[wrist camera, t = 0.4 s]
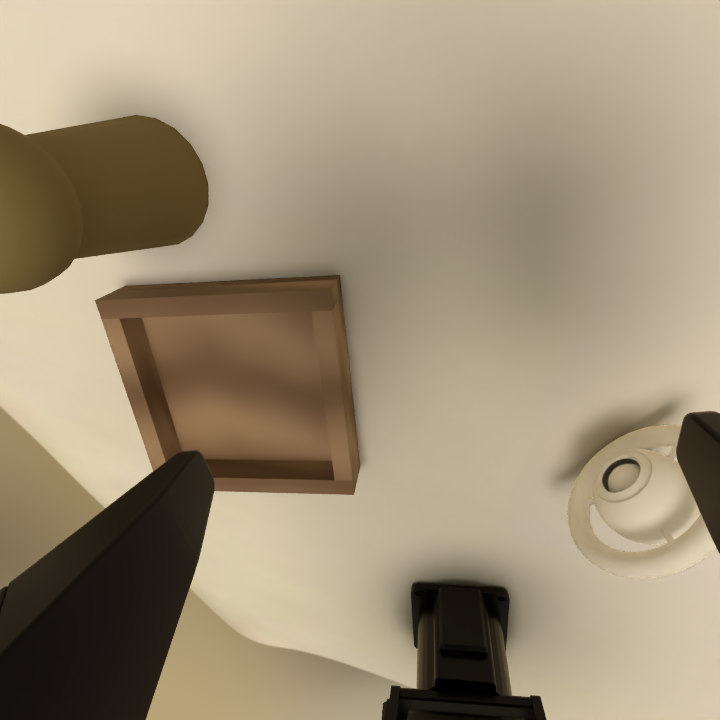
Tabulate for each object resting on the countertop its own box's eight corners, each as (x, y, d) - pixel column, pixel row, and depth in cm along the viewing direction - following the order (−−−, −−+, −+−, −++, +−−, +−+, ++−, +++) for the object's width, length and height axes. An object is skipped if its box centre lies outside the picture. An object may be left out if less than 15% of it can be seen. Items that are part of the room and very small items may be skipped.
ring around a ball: (658, 378, 23) (759, 484, 16) (726, 445, 24) (849, 571, 17) (532, 466, 27) (571, 586, 19) (597, 521, 28) (656, 654, 21)
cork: (75, 198, 23) (-181, 240, 14) (116, 85, 21) (-161, 36, 11) (178, 269, 24) (7, 357, 15) (229, 169, 22) (65, 193, 12)
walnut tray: (359, 466, 28) (354, 494, 26) (179, 463, 30) (159, 489, 28) (339, 275, 23) (329, 289, 21) (124, 286, 25) (95, 300, 23)
